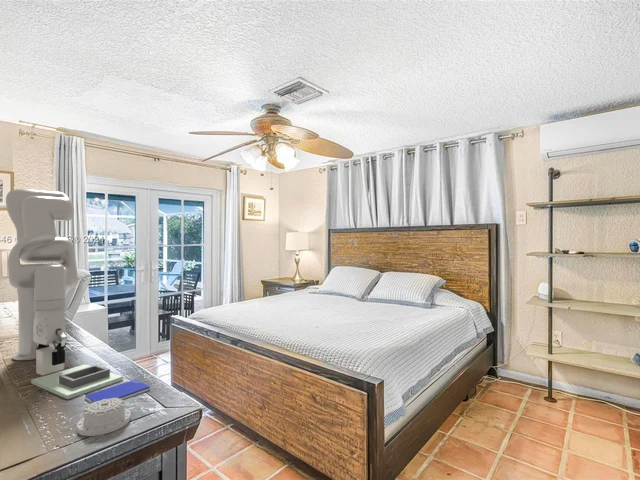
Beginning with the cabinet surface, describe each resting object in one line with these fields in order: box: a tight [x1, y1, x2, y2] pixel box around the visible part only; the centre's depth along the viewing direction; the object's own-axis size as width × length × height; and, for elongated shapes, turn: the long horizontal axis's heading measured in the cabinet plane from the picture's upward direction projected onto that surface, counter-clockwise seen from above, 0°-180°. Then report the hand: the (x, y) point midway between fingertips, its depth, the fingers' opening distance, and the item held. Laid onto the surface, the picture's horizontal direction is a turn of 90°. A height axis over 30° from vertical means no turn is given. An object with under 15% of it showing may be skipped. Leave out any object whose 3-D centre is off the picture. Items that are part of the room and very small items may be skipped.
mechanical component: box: [76, 398, 132, 437], centre depth 76 cm, size 10×4×10 cm
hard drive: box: [84, 379, 151, 404], centre depth 90 cm, size 2×8×12 cm
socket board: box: [30, 364, 124, 400], centre depth 98 cm, size 20×14×3 cm
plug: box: [35, 344, 66, 376], centre depth 107 cm, size 4×6×7 cm, turn 150°
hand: (50, 361), depth 106 cm, fingers open, 9 cm apart
